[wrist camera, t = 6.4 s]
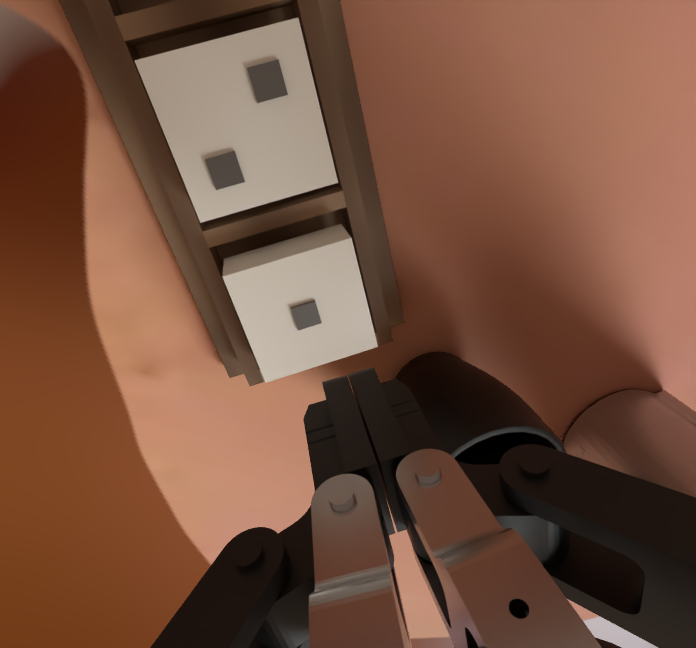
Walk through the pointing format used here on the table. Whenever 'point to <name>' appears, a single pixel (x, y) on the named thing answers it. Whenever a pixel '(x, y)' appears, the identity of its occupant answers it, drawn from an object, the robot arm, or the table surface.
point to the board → (258, 222)
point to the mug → (472, 410)
